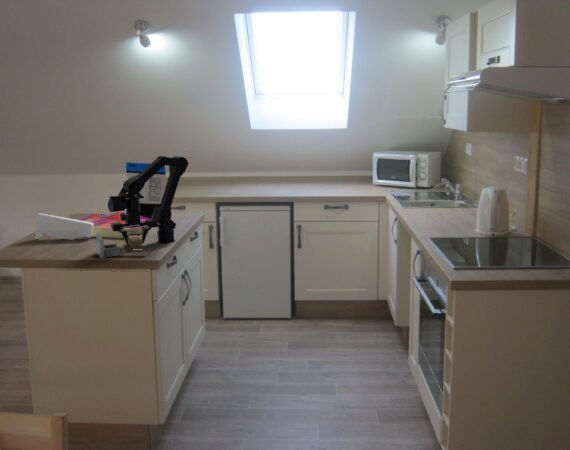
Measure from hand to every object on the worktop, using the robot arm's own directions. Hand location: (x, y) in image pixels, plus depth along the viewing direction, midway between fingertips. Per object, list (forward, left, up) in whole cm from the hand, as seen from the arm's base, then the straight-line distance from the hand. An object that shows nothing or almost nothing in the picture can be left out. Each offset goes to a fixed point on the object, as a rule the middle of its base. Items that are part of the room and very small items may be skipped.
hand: (135, 244), depth 275 cm
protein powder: (-19, -56, -1) cm, 59 cm away
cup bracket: (+12, +9, -1) cm, 15 cm away
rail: (0, 0, -1) cm, 1 cm away
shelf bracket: (+26, -29, -1) cm, 39 cm away
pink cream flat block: (+4, -36, -2) cm, 37 cm away
